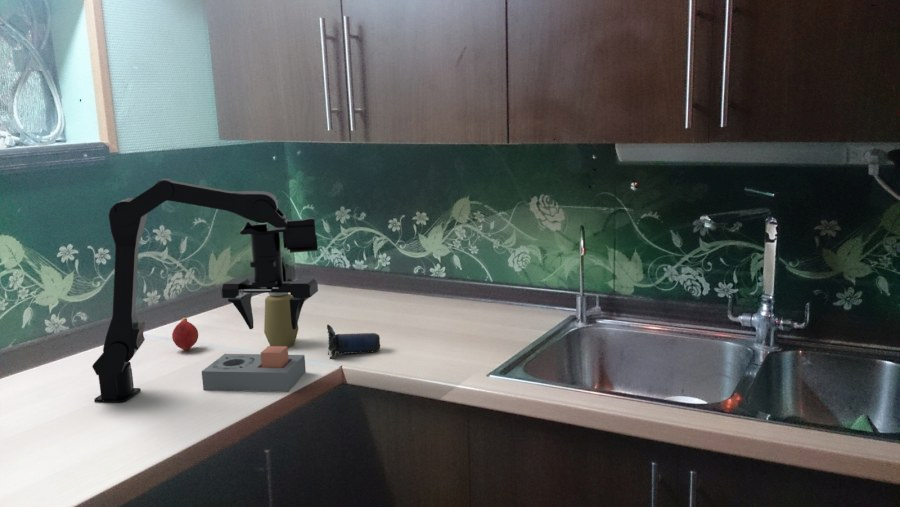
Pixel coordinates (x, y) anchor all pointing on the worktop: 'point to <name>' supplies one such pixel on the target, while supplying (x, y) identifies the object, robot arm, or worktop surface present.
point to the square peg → (274, 357)
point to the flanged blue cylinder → (352, 342)
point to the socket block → (252, 374)
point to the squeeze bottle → (279, 320)
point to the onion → (185, 335)
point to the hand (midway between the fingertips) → (273, 328)
